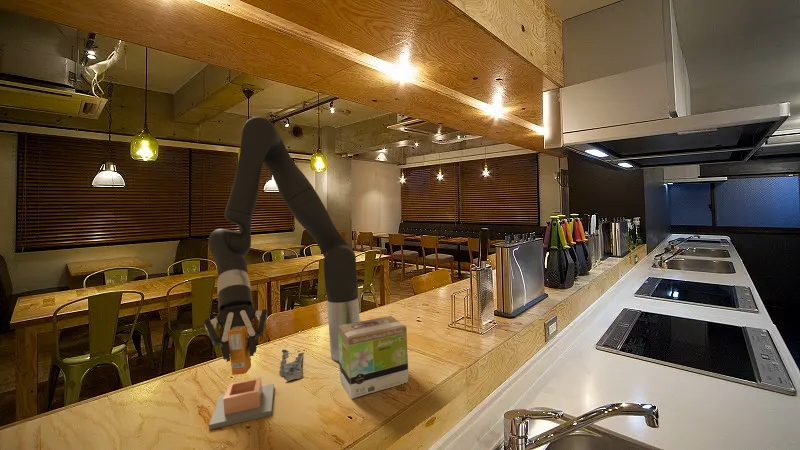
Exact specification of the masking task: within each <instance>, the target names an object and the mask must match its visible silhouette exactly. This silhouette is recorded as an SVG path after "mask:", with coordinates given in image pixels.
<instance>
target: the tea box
mask: <svg viewBox="0 0 800 450" xmlns="http://www.w3.org/2000/svg"><path fill="white" fill-rule="evenodd" d="M407 331H408V330H407V326H406V325H405V324H404V323H402V322H401V321H399V320H398V319H396V318H395V317H393V316H392V315H389V316H388V315H387V316H383V317H378V318H372V319H367V320H361V321H360V322H356V323H350V324H345V325H340V326H338V343H339V361H338V362H339V364H338V365H339V379H340V380H339V381H340V382H341V384H342V386H343V387H344V389H345V390H346V393H347V394H348V396H349V397H350V399H351V400H354V399H357V398H359V397H362V396H366V395H368V394H372V393H377V392H380V391H382V390H387V389H390V388H394V387H397V386H401V384H402V385H405V384H404V383H406V384H408V383H409V358H408V357H409V355H408V336H407V335H408V334H407ZM407 382H408V383H407Z"/></svg>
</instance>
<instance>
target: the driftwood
mask: <svg viewBox="0 0 800 450" xmlns="http://www.w3.org/2000/svg"><path fill="white" fill-rule="evenodd" d="M281 352H282V355H281V357H282V358H281V361H280V367H279V372H278V374H279V377H281V378H283V379H284V380H286V382H285V383H288V382H290V381H292V380H296V379H303V378H304V374H303V368H302V367H303V363H302V360H303V357H304V356H303V355H304V353H303V352H301V351H300V350H297V353H298V355H297V357H295V360H294V361H292V362H291V361H290V362H288V363H287V359H288V358H289V357H290V356H289V355H290V354H292V355H293V354H294V353H293V352H290V351H289V350H288V349H282V350H281Z"/></svg>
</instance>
